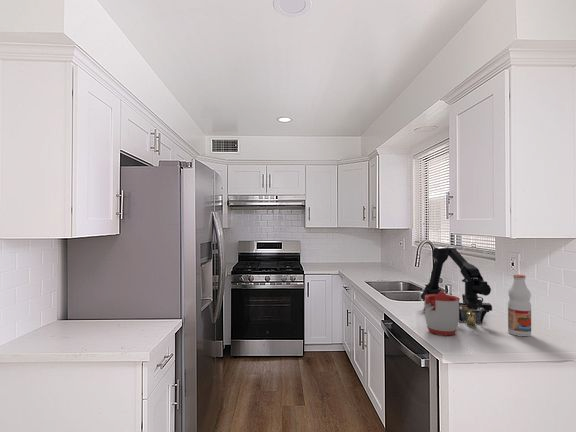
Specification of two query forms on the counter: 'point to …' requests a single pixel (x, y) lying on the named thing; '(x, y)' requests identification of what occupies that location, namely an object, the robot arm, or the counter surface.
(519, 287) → the fruit juice
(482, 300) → the coffee mug
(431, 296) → the citrus juicer
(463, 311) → the grey square box
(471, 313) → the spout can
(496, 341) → the counter surface
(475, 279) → the robot arm
